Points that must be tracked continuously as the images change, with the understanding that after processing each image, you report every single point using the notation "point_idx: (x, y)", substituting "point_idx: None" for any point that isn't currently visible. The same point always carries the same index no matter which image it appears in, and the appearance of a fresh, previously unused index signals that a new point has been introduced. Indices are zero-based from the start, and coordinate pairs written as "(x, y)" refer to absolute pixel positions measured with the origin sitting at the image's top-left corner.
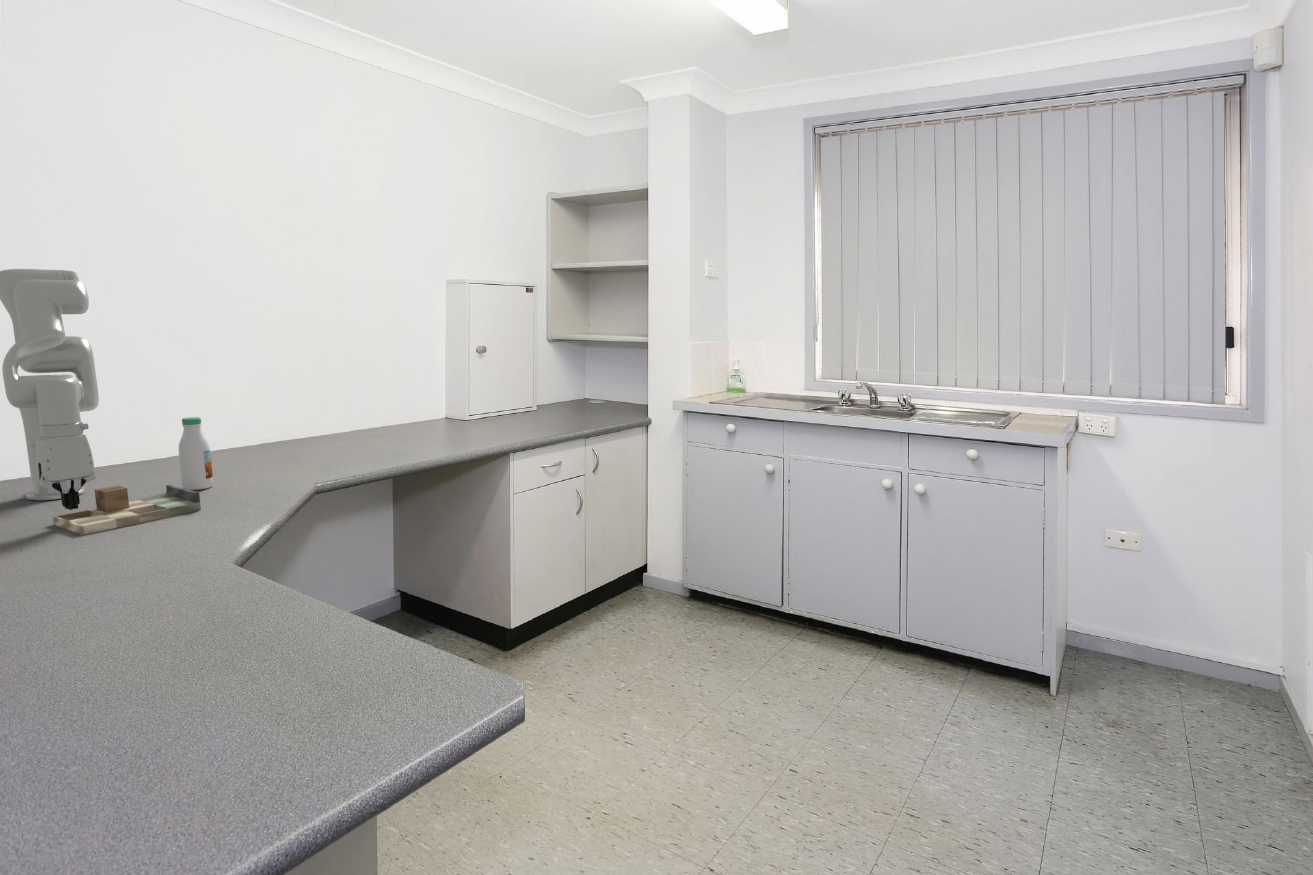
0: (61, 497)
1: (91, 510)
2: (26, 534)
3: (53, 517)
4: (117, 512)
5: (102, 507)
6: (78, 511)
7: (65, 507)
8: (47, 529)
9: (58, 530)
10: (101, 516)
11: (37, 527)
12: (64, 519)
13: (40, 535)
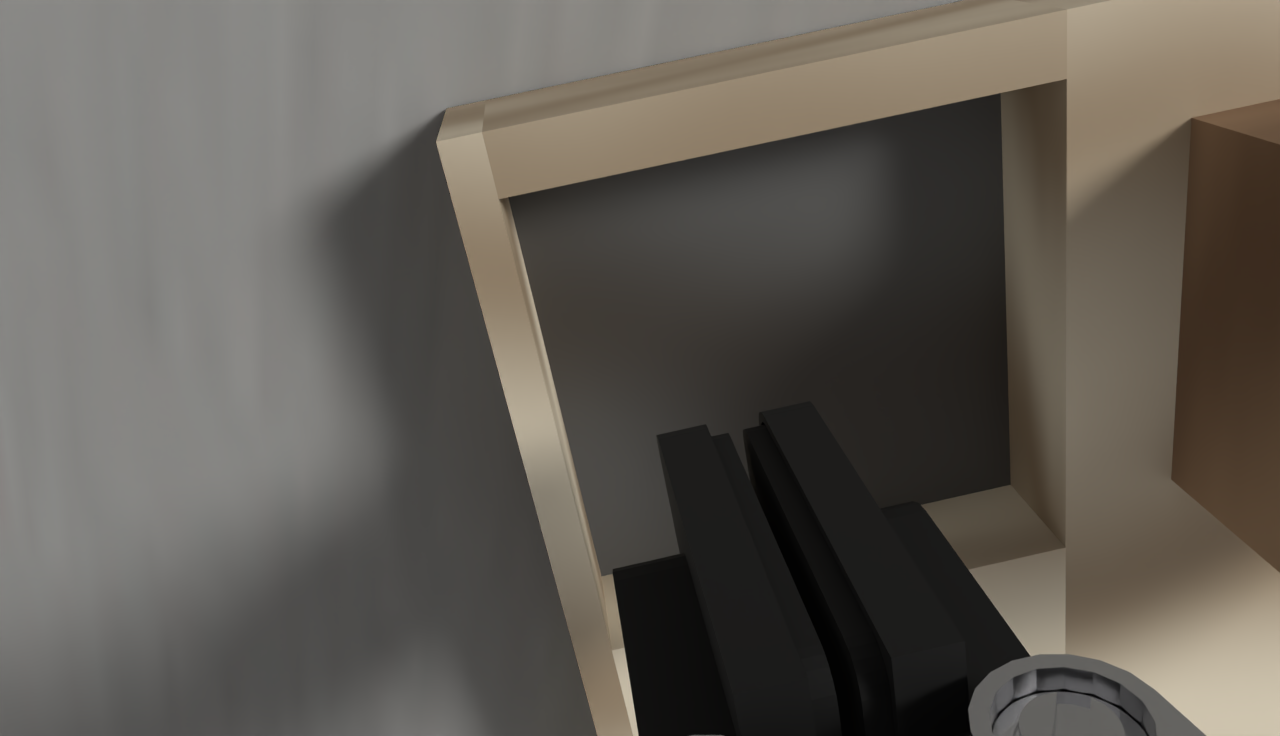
0: (637, 704)
1: (1092, 152)
2: (61, 499)
3: (447, 178)
4: (1260, 580)
5: (1226, 396)
6: (907, 49)
7: (664, 476)
8: (339, 390)
9: (468, 546)
10: None
11: (195, 132)
12: (575, 549)
13: (246, 663)
